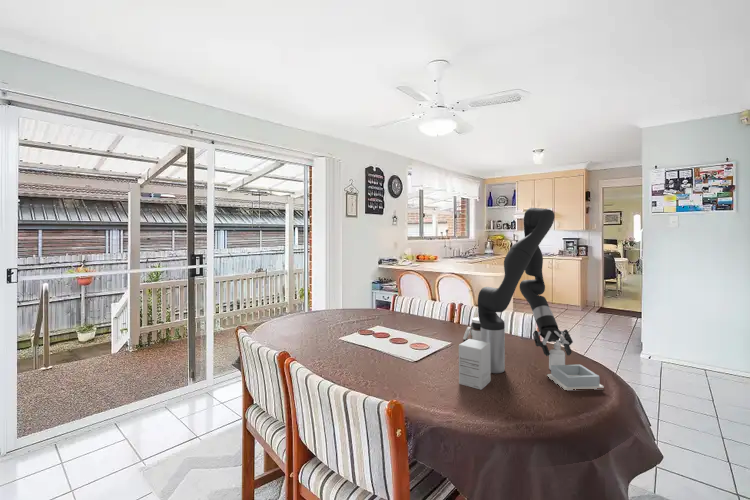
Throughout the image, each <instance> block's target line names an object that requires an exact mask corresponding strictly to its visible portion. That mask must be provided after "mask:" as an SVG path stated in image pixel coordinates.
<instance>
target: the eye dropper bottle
mask: <svg viewBox="0 0 750 500" xmlns="http://www.w3.org/2000/svg"><path fill="white" fill-rule="evenodd" d="M561 346H562V344H559V342H558V340H556V342H553V348H552V349H550V350H549V353H550V355H549V356H548V369H549V370H550V371H551V365H566V351H565V350H563V349H562V348H561Z"/></svg>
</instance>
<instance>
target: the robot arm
mask: <svg viewBox="0 0 750 500" xmlns="http://www.w3.org/2000/svg"><path fill="white" fill-rule="evenodd" d="M555 215H556V214H555V212H554V211H553V210H552V209H548V208H542V207H541V208H540V207H529V208H527V209H526V210H525V213H524V216H523V232H524V233H523V235H524V237H523V238H521V239H520V240H518V241H516V242H515V243H513V245H512V246H511V247H510V249H509V250H508V252H507V254H506V255H505V256H504V260H503V269H504V270H503V271H504V276H503V280H502V282H501V284H500V285H499V287H498V288H496V287H493V286H492V287H490V286H484V287H482V288H481V289H480V290H479V293H478V296H477V312H478V313H477V314H478V315H477V317H479V321H480V324H481V341H483V342H489V343H490V367H491V374H501V373H503V372H505V369H506V368H505V366H506V365H505V362H506V361H505V354H506V353H505V342H506V340H505V337H506V334H505V332H506V331H505V328H506V325H505V321H504V320H503V319H502V318H501V317H500V316H499V315H498V314H497V313H503V312H504V311H506V310H507V308H508V307H509V305H510V303H511V300H512V298H513V296H514V294H515V291H516V289H517V286H518V284H519V292H520V293H521V295H522V296H523V298H524V299H525V300H526V301H527V303H528V304H529V306H530V309H531V312H532V315H533V319H534V321H535V324H536V326H537V329H538V330H536V329H535V330H534V331H533V333H532V336H533V340H534V343H535V346H536V347H540V348H541V349H542V351H543V354H544V355H545V356H546V357H549V355H550V353H549V351H550V350H549V348H548V346H547V343H551V342H552V343H556V340H558V342H559V344H561V346H563V348H564V352H565V355H566V356H570V355H571V354H572V352H573V351H572V349H571V345H572V344H573V343H574V341H573V338H572V337H571V335H570V333H569V331H568V329H563V330H560V329H559V326H558V322H557V321H556V317H555V316H554V314H553V312H552V310H551V308H550V306H549V303H548V301H547V298H546V297H545V296H543V294H544V293H545V291H546V285H545V281H544V276H543V263H544V258H543V257H544V256H543V252H542V250H541V247H540V246H539V245H540V244H541V243H542V241H543V239H544V238H546V236H547V234H548V232H550V230H551V228H552V226H553V224H554V220H555ZM524 273H525V274H526V275H527V276H530V277H534V279H523V280H521V278H522V277H523V274H524ZM540 337H541V338H543V339H542V341H541V338H540Z"/></svg>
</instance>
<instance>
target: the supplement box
mask: <svg viewBox="0 0 750 500" xmlns="http://www.w3.org/2000/svg"><path fill="white" fill-rule="evenodd" d="M491 374H492V373H491V367H490V343H489V342H483V341H478V340H473V339H471V338H467V339H466V340H465V341H463V342H461V343H459V344H458V384H459V385H463V386H466V387H470V388H473V389H477V390H481V391H482V390H483V389H484V388H485V387H486V386H487V385H488V384H489V383H490V382H491Z"/></svg>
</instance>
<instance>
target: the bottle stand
mask: <svg viewBox="0 0 750 500" xmlns="http://www.w3.org/2000/svg"><path fill="white" fill-rule="evenodd" d="M547 376H548V377H549V378H548V377H547ZM546 377H547V378H548V379H550V380H551V381H552V380H553V381H554V382H553V381H552V382H553V383H555V385H557V384H558V385H559V386H560V388H561V387H562V388H563V389H564V390H567V391H577V390H576V389H594V390H598V389H597V388H604V387H605V386H604V385H603V384H601V383H600V375H599V374H597V373H595V372H594V371H592V370H590V369H589V368H587V367H585V366H584V365H582V364H579V363H577V364H565V365H551V370H550V373H547V375H546ZM558 385H557V386H558ZM559 386H558V387H559ZM562 388H561V389H562ZM563 389H562V390H563ZM573 389H575V390H573ZM564 390H563V391H564Z"/></svg>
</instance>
